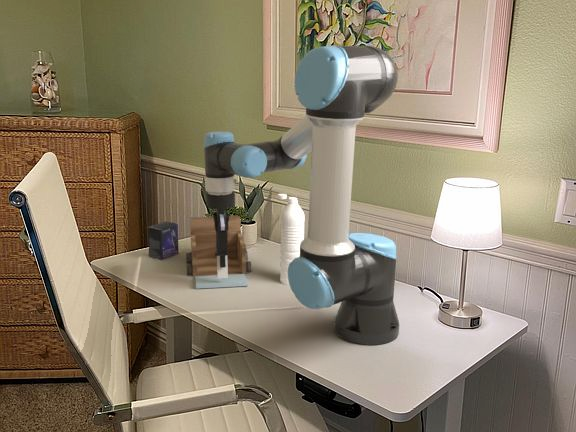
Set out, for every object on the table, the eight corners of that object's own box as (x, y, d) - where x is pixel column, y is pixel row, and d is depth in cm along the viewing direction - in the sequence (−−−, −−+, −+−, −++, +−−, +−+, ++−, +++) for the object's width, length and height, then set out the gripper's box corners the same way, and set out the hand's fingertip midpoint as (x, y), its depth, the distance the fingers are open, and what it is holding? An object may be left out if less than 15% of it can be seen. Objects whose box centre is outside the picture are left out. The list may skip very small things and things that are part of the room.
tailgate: (245, 277, 177) (248, 285, 169) (194, 279, 175) (195, 288, 166) (245, 273, 177) (248, 281, 169) (194, 275, 175) (195, 284, 166)
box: (162, 263, 189) (160, 229, 186) (148, 259, 191) (146, 226, 188) (179, 256, 195) (178, 223, 192) (166, 252, 198) (164, 220, 195)
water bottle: (308, 284, 174) (310, 197, 167) (291, 290, 169) (292, 201, 162) (286, 275, 180) (287, 192, 173) (270, 281, 175) (270, 195, 169)
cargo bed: (251, 276, 178) (251, 233, 175) (187, 280, 175) (185, 236, 172) (245, 255, 196) (244, 215, 193) (186, 257, 193) (184, 217, 190)
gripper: (237, 196, 155) (238, 285, 162) (232, 186, 168) (234, 268, 174) (206, 198, 154) (209, 286, 160) (204, 187, 167) (207, 269, 173)
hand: (222, 277), depth 167 cm, fingers closed
